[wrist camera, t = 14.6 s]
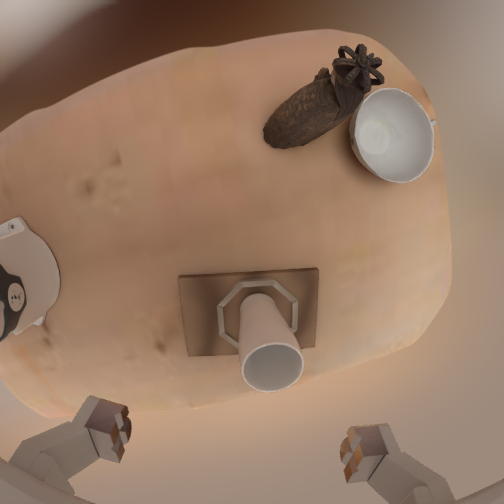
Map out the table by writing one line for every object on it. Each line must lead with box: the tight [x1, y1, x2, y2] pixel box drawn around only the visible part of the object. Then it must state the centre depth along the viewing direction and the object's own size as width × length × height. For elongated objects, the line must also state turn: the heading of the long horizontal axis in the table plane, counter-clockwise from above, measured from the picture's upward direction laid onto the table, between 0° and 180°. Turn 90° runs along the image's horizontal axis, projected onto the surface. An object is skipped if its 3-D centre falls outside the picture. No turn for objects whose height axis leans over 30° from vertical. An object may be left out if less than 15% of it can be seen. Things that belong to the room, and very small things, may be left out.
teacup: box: [349, 88, 436, 183], centre depth 37 cm, size 15×12×8 cm
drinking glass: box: [238, 293, 304, 392], centre depth 37 cm, size 7×7×15 cm
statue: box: [263, 44, 384, 149], centre depth 28 cm, size 9×8×25 cm
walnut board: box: [178, 268, 319, 356], centre depth 45 cm, size 20×13×2 cm, turn 92°
